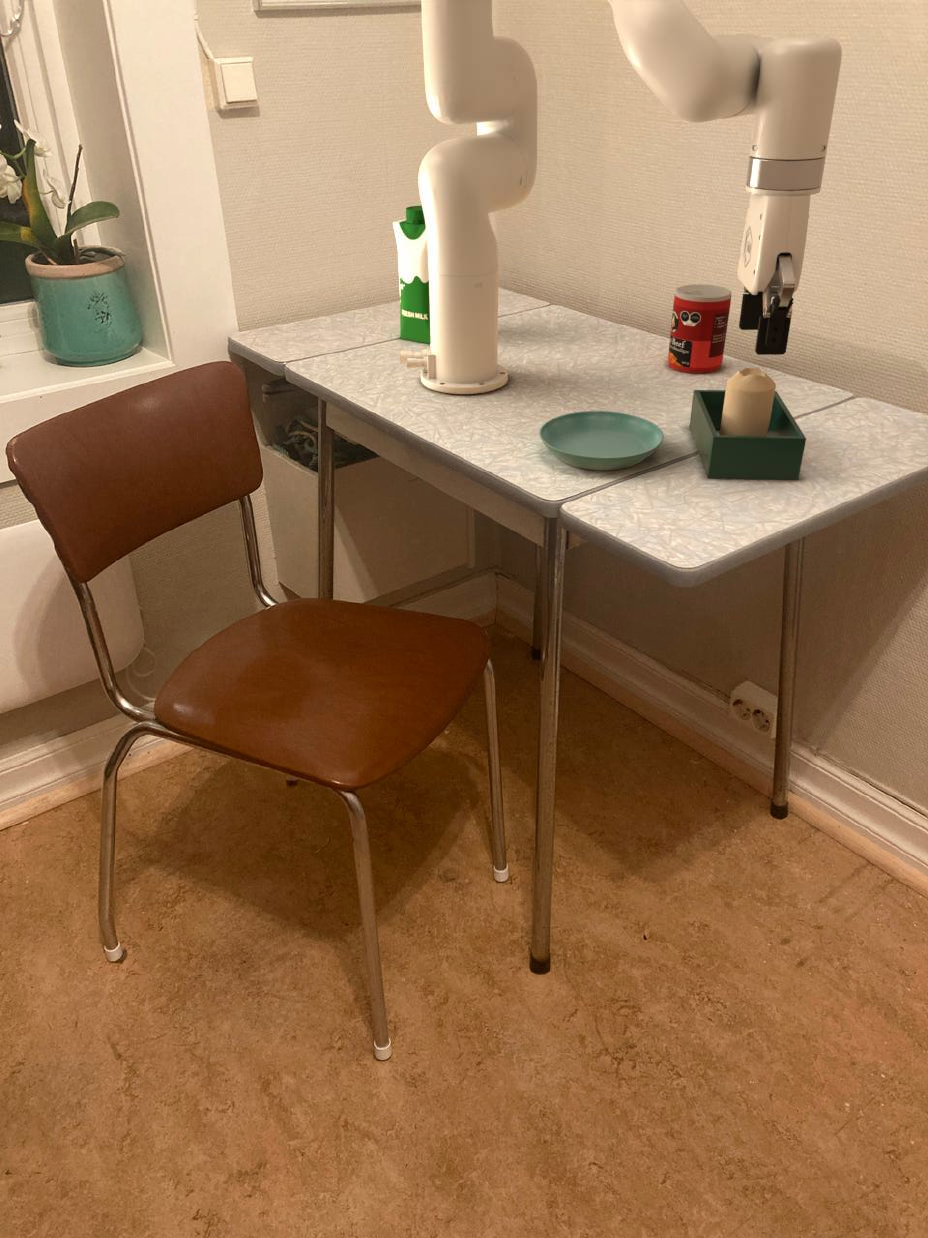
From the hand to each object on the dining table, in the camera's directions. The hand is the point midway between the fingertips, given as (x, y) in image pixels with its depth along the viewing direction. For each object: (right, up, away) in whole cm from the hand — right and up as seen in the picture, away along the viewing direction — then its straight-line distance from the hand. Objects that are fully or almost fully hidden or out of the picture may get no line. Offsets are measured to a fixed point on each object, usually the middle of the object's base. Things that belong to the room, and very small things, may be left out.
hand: (761, 340), depth 109 cm
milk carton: (-39, +15, +50) cm, 65 cm away
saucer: (-17, -12, +8) cm, 22 cm away
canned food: (+1, +6, +35) cm, 36 cm away
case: (0, -11, +8) cm, 14 cm away
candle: (0, -11, +8) cm, 14 cm away
